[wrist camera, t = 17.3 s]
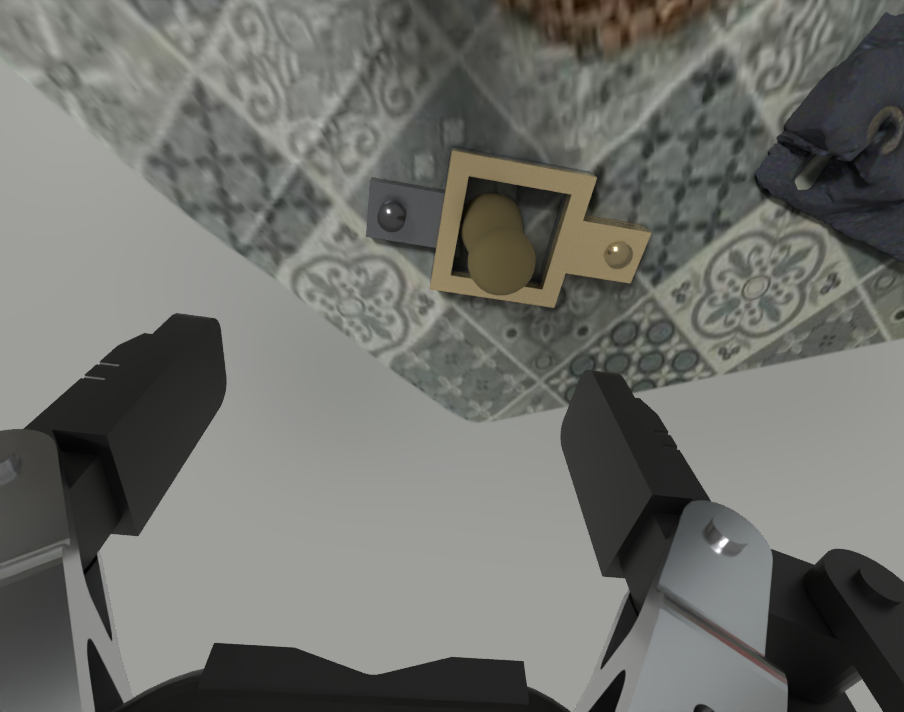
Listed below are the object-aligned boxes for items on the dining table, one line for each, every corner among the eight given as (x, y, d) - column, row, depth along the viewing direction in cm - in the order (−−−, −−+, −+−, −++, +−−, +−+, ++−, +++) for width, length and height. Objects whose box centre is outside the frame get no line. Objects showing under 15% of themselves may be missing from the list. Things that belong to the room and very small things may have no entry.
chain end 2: (451, 145, 39) (452, 151, 37) (657, 184, 41) (671, 192, 39) (430, 279, 46) (429, 290, 43) (609, 306, 48) (617, 319, 45)
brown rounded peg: (529, 197, 41) (554, 236, 32) (514, 260, 45) (533, 312, 35) (463, 187, 41) (470, 224, 32) (453, 251, 44) (457, 302, 35)
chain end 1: (375, 131, 38) (371, 136, 36) (589, 171, 40) (598, 178, 38) (365, 269, 45) (360, 280, 42) (549, 297, 47) (555, 309, 45)
